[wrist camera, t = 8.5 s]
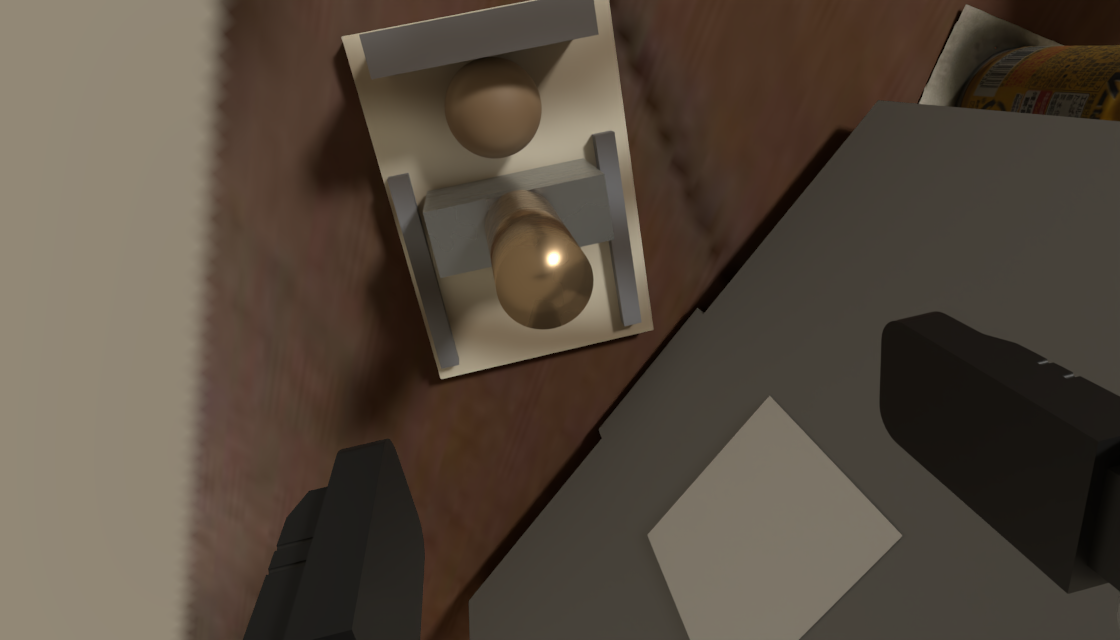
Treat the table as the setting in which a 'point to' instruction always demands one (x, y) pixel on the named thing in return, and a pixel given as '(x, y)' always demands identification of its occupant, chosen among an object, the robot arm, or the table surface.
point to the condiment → (1023, 72)
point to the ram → (525, 237)
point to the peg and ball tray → (502, 157)
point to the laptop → (838, 409)
